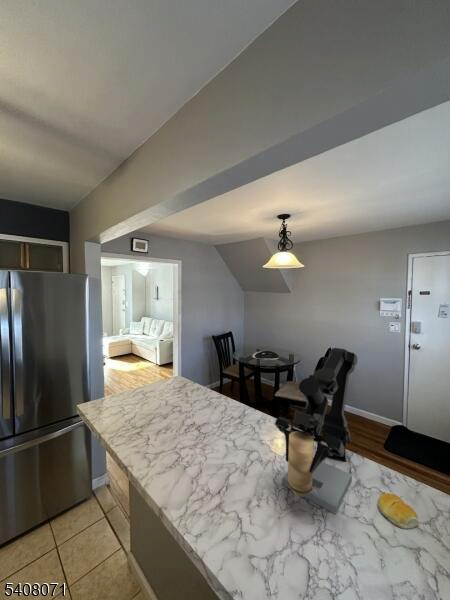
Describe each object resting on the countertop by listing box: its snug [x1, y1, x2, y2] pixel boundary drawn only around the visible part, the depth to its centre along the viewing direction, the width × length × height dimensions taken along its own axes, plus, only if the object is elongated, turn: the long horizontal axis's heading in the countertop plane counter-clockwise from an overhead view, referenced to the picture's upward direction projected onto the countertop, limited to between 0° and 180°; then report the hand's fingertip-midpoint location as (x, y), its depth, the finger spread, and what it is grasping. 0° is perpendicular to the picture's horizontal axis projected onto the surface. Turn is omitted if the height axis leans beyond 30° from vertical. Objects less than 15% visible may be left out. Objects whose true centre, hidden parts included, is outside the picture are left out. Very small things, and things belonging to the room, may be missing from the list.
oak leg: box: [287, 431, 315, 498], centre depth 68 cm, size 6×6×15 cm
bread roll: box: [377, 492, 419, 530], centre depth 67 cm, size 8×9×4 cm
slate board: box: [281, 461, 353, 515], centre depth 78 cm, size 16×16×2 cm
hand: (298, 466), depth 67 cm, fingers closed on oak leg, 6 cm apart
